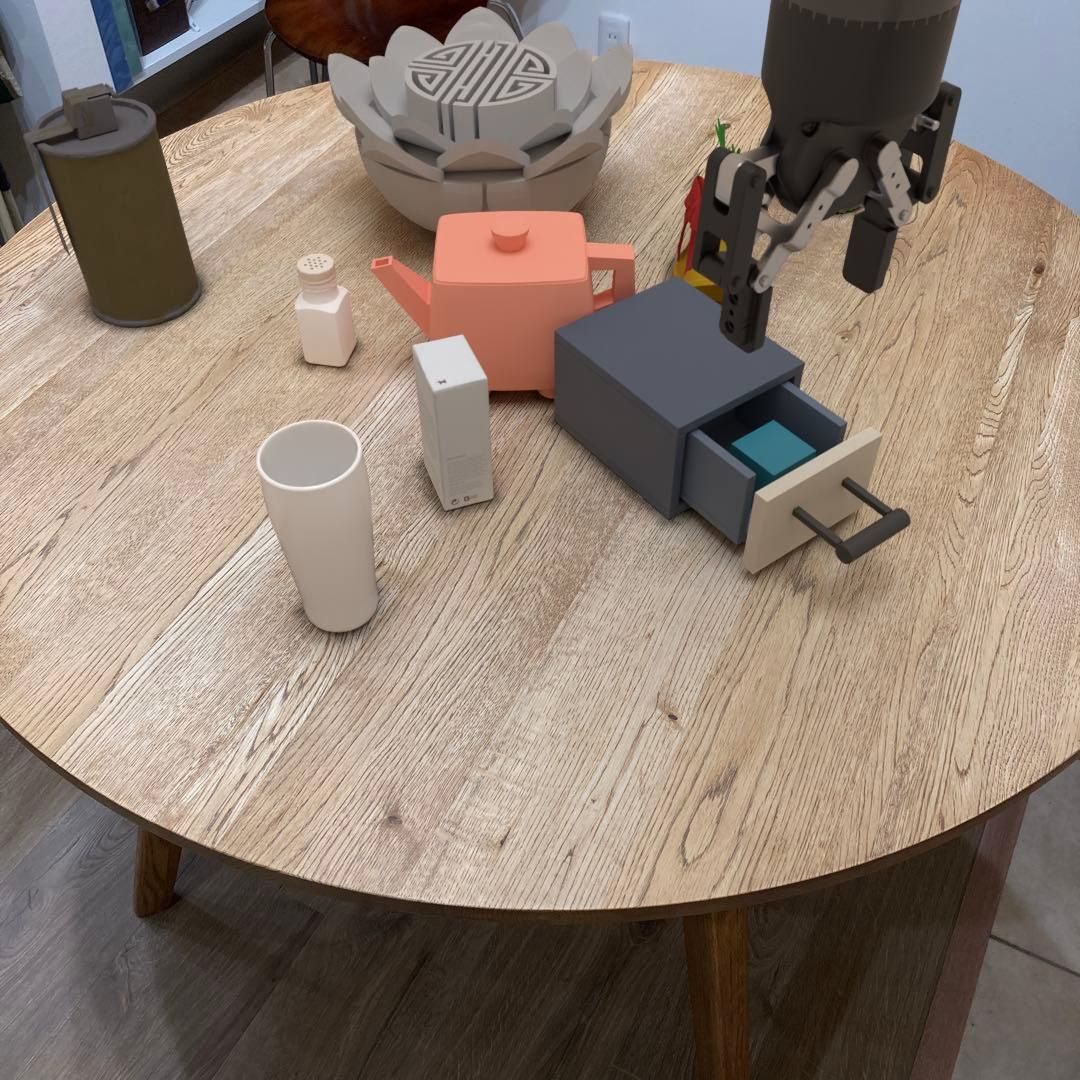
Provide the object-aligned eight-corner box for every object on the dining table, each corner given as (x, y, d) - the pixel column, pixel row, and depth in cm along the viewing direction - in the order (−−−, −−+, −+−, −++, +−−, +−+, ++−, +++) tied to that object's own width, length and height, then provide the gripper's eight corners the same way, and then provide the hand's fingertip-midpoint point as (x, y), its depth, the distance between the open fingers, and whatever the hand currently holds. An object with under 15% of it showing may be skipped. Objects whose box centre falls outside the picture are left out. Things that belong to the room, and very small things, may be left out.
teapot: (380, 412, 95) (359, 269, 85) (391, 324, 104) (373, 185, 93) (636, 407, 95) (646, 264, 85) (626, 320, 104) (634, 181, 93)
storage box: (787, 453, 91) (805, 362, 84) (668, 520, 86) (678, 428, 79) (668, 364, 99) (676, 275, 92) (554, 420, 94) (553, 330, 87)
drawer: (921, 550, 82) (947, 477, 76) (810, 623, 77) (829, 551, 72) (740, 415, 93) (751, 343, 87) (633, 472, 88) (638, 399, 83)
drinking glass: (316, 658, 77) (277, 505, 66) (281, 594, 81) (238, 440, 70) (405, 620, 79) (381, 465, 68) (366, 559, 83) (338, 404, 72)
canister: (178, 254, 112) (122, 56, 98) (219, 303, 106) (165, 100, 92) (72, 290, 108) (-3, 88, 94) (108, 342, 102) (34, 136, 88)
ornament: (674, 281, 117) (639, 137, 110) (753, 258, 115) (722, 111, 108) (689, 342, 98) (647, 174, 92) (783, 317, 97) (748, 144, 90)
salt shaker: (345, 370, 99) (329, 278, 92) (303, 364, 99) (284, 273, 93) (359, 343, 102) (345, 252, 95) (318, 338, 102) (301, 248, 95)
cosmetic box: (496, 499, 87) (489, 379, 79) (444, 513, 86) (431, 392, 78) (472, 451, 91) (464, 331, 83) (422, 463, 90) (409, 343, 82)
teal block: (806, 495, 84) (816, 450, 81) (765, 520, 83) (774, 475, 79) (765, 464, 87) (773, 419, 83) (724, 488, 85) (731, 443, 82)
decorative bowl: (398, 127, 131) (384, -6, 120) (645, 158, 125) (653, 21, 114) (291, 265, 111) (262, 121, 100) (579, 309, 105) (581, 161, 94)
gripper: (811, 53, 40) (753, 405, 51) (1057, -37, 45) (954, 298, 57) (673, -10, 44) (648, 328, 56) (914, -85, 49) (845, 236, 61)
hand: (803, 313), depth 56 cm, fingers open, 8 cm apart
